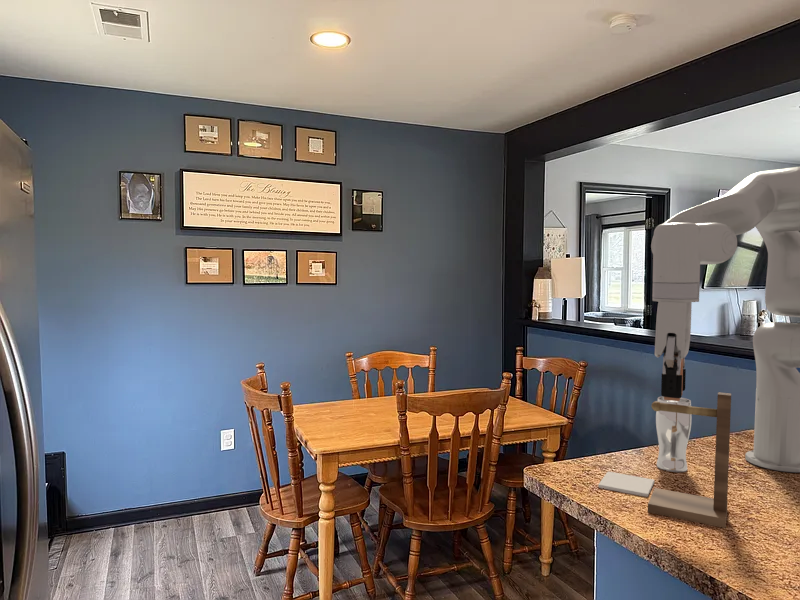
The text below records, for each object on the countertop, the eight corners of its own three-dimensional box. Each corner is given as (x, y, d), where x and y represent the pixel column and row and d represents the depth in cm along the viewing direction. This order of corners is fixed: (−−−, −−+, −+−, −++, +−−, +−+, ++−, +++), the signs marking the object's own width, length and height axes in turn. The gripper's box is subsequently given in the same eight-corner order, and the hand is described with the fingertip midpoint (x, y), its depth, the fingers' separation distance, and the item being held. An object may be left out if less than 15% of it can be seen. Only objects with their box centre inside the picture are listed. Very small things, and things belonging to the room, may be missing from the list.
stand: (651, 495, 110) (655, 382, 109) (727, 509, 104) (731, 390, 103) (644, 511, 103) (648, 390, 102) (725, 528, 96) (730, 399, 95)
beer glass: (693, 474, 122) (696, 403, 121) (658, 471, 124) (660, 401, 123) (684, 463, 129) (686, 396, 128) (651, 461, 130) (653, 395, 130)
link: (668, 393, 107) (668, 350, 107) (682, 394, 106) (683, 351, 106) (664, 399, 102) (664, 354, 102) (679, 401, 101) (680, 355, 101)
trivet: (607, 474, 122) (607, 471, 122) (654, 482, 117) (654, 479, 117) (598, 487, 114) (598, 484, 114) (647, 497, 109) (647, 493, 109)
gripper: (658, 290, 112) (657, 383, 113) (645, 294, 98) (643, 400, 99) (702, 291, 109) (700, 386, 110) (695, 295, 94) (693, 406, 95)
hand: (673, 392), depth 104 cm, fingers closed on link, 6 cm apart
